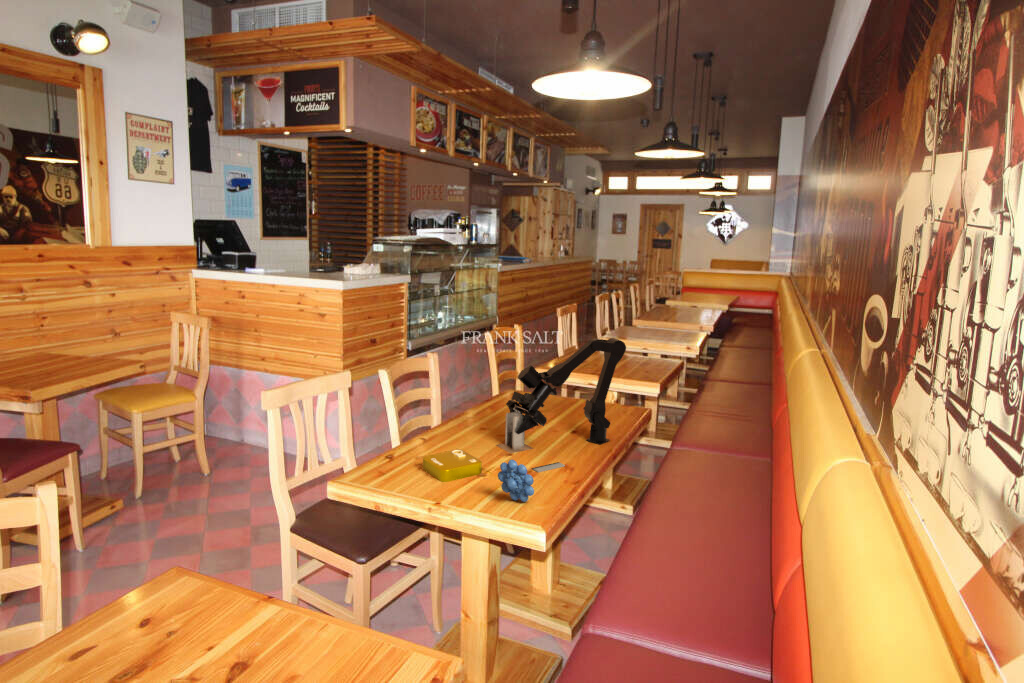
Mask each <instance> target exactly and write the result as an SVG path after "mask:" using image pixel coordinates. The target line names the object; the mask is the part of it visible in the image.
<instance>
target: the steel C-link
mask: <svg viewBox="0 0 1024 683" xmlns="http://www.w3.org/2000/svg"><path fill="white" fill-rule="evenodd" d="M524 419H525V414H523V413H522V414H521V413H518V412H511V413H510V412H506V413H505V432H504V434H505V438H504V439H505V440H504V443H505V446H510V445H511V436H512V435H513V441H512V449H513V450H517V449H522V448H524V444H525V435H526V434H525V433H526V431H524V432H522V433H520V434H517V433H516V432H517V430H518V429H519V427H520V426H521V424H522V423H523V421H524Z"/></svg>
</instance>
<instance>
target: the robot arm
mask: <svg viewBox="0 0 1024 683" xmlns="http://www.w3.org/2000/svg"><path fill="white" fill-rule="evenodd" d="M626 351H627V345H626V344H625V342H624V341H623V340H620V339H618V338H615V337H611V338H607V339H597V338H590V339H588V341H587V342H586V343H585V344H584V345H582V346H581V347H580V348H578V350H576V351H575V352H574V353H573V354H572V355H570V356H569V357H568V358H567V359H565V360H564V361H563V362H561V363H558V364H556V365H554V366H552V367H550V368H548V370H547V371H542V372H538V371H537V369H535V367H533V365H531V364H530V365H529V366H527V367H525V368H524V369H522V370H520V372H519V373H518V375H517V380H519V381H520V382H521V383H522V384H523V385H524V387H526V388H527V389H530V390H531V389H533V390H532V391H531V392H530V393H529V392H525V393H524V394H523V393H521V392H518V391H516V390H514V391H513V394H512V395H511V396H512V397H511V399H508V400H507V402H506V403H505V405H506V406H507V407H508V409H509V413H511V412H518V413H521V414H523V415H525V419H524V421H523V423H522V424H521V426H520V427H519V429H518V430H517V432H516V433H517V434H520V433H522V432H524V431H525V432H526V431H529V430H530V429H533V428H535V427H539V425H540V426H542V427H544V426H545V425H546V424H547V420H548V418H547V417H546V416H545V415H544V414H543V413H542V411H540V410H539V409H540V408H544V407H545V404H544V403H545V401H546V400H547V399H548V397H549V396H550V395H552V396H557V395H558V393H557V388H556V387H562V385H564V384H565V382H566V381H567V380H568V379H569V378H570V375H572V372H573V371H575V370H576V368H578V367H579V366H580V365H581V364H583V363H584V362H585V361H586V360H587V359H589V358H590V357H591V356H592V355H593V354H594V353H596V352H603V357H604V360H603V364H602V367H601V371H600V373H599V377H598V381H597V383H596V385H595V386H596V387H595V390H594V394H593V396H592V397H591V398H590V399H588V398H587V399H586V400H585V406H584V407H583V409H582V410H584V411H583V415H584V416H585V418H586V419H588V422H589V423H590V430H589V437H588V438H587V439H586V442H589V443H590V442H591V443H593V444H598V445H603V444H605V443H608V442H610V438H607V433H608V432H607V430H608V429H609V428H610V426H611V422H610V421H609V420H608V419H607V417H606V411H607V410H606V407H607V406H606V400H607V395H608V392H609V389H610V386H611V383H612V380H613V376H614V374H615V370H616V367H617V365H618V364H619V362H620V361H621V360H622V358H623V357H624V355H625V353H626ZM550 384H551V385H552V386H551V385H550ZM553 386H554V387H553Z"/></svg>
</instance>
